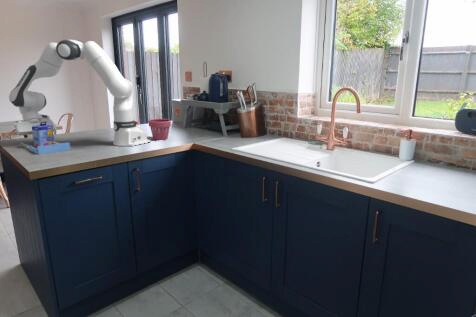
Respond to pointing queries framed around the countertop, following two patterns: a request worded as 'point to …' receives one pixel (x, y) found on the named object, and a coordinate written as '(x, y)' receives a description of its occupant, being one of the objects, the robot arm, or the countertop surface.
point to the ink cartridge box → (43, 134)
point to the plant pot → (160, 128)
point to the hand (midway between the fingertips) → (40, 138)
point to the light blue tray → (48, 148)
